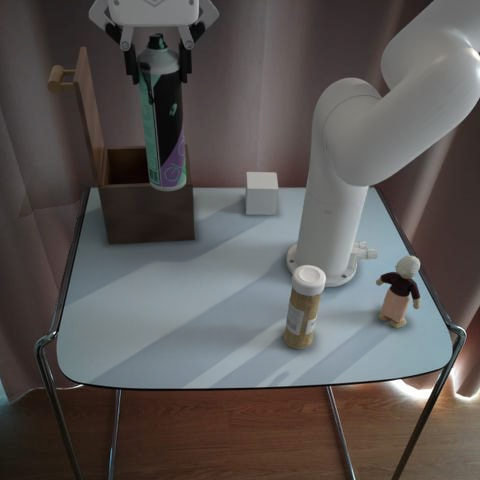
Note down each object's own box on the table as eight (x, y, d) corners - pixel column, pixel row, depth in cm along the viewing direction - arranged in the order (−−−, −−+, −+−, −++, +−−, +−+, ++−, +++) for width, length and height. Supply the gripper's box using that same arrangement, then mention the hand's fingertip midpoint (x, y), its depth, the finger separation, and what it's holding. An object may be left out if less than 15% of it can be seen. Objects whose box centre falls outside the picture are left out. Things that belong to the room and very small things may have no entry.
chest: (190, 198, 102) (187, 144, 93) (194, 239, 93) (192, 184, 84) (111, 201, 100) (102, 146, 91) (109, 244, 91) (97, 187, 82)
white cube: (246, 214, 99) (247, 188, 95) (245, 197, 103) (246, 171, 99) (276, 215, 99) (278, 188, 95) (273, 198, 103) (276, 172, 99)
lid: (85, 46, 79) (51, 47, 78) (78, 81, 70) (39, 82, 69) (103, 144, 91) (74, 145, 91) (99, 185, 82) (66, 187, 81)
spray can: (181, 193, 72) (172, 44, 57) (145, 188, 73) (126, 39, 58) (190, 174, 76) (184, 29, 61) (155, 169, 76) (141, 25, 62)
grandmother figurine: (415, 320, 81) (441, 260, 71) (407, 334, 78) (433, 275, 69) (371, 301, 83) (391, 241, 74) (362, 315, 81) (381, 255, 72)
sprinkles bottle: (315, 347, 76) (331, 283, 66) (287, 352, 75) (298, 288, 65) (306, 326, 79) (319, 261, 69) (279, 330, 78) (288, 265, 68)
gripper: (54, -101, 47) (90, 94, 60) (234, -97, 49) (230, 90, 62) (60, -112, 52) (92, 70, 65) (223, -109, 54) (222, 67, 67)
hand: (159, 78), depth 63 cm, fingers closed on spray can, 5 cm apart
